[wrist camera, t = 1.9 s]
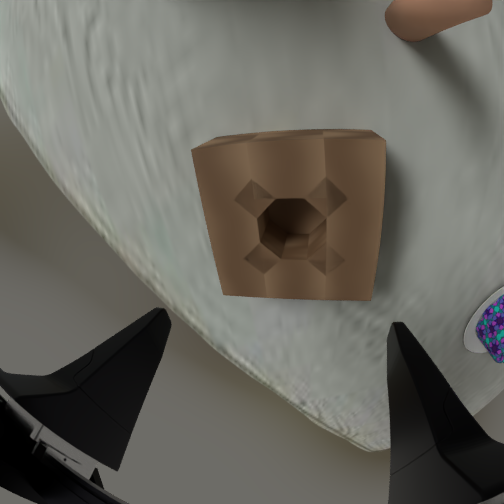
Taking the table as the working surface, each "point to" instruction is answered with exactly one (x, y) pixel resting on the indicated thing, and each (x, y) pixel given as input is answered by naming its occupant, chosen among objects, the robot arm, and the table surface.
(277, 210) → the bore block
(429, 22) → the pin
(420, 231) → the table surface
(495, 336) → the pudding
